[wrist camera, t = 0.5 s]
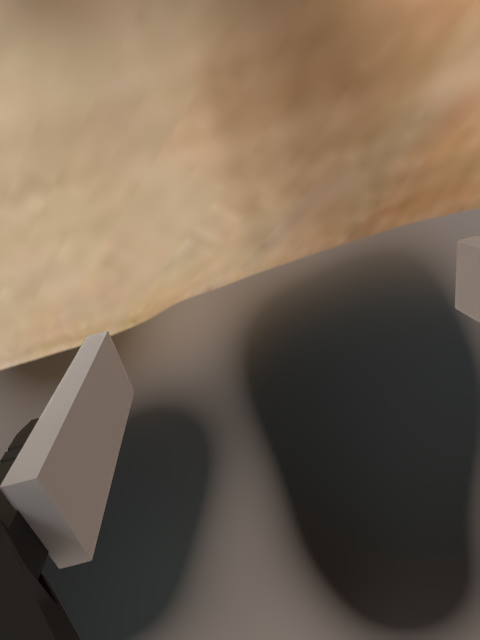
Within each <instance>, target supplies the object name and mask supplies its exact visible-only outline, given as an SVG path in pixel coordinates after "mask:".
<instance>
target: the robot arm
mask: <svg viewBox="0 0 480 640" xmlns="http://www.w3.org/2000/svg"><path fill="white" fill-rule="evenodd" d="M455 308H456V309H458V310H459V311H461V312H462V313H464V314H466V315H467V316H469V317H471V318H473V319H474V320H476V321H478V322H479V323H480V236H474V237H471V238H467V239H462V240H458V241H457V261H456V291H455ZM133 394H134V390H133V387H132V385H131V383H130V381H129V378H128V376H127V374H126V372H125V369H124V367H123V364H122V362H121V360H120V358H119V355H118V353H117V351H116V349H115V346H114V344H113V342H112V339H111V337H110V335H109V332H108V331H105V332H101V333H97V334H93V335H89V336H87V337H86V339H85V341H84V342H83V344H82V346H81V348H80V349H79V351H78V353H77V355H76V356H75V358H74V360H73V361H72V363H71V365H70V367H69V369H68V370H67V372H66V373H65V375H64V377H63V379H62V380H61V382H60V384H59V386H58V387H57V389H56V391H55V393H54V394H53V396H52V398H51V399H50V401H49V403H48V404H47V406H46V408H45V410H44V411H43V413H42V415H41V417H40V418H38V419H34V420H31V421H30V422H29V423H28V424H27V425H26V426H25V427H24V428H23V429H22V430H21V431H20V432H19V433H18V434H17V435H16V437H15V438H14V440H13V441H12V443H11V445H10V446H9V448H8V451H7V452H5V454H4V456H3V457H2V459H1V460H0V462H1V463H0V640H81V639H80V638H79V636H78V634H77V632H76V630H75V628H74V627H73V625H72V623H71V621H70V619H69V617H68V616H67V614H66V612H65V610H64V608H63V607H62V605H61V603H60V601H59V599H58V597H57V596H56V594H55V592H54V590H53V588H52V587H51V585H50V583H49V581H48V580H47V578H46V577H45V576H44V574H43V573H42V569H43V566H44V563H45V561H46V558H47V555H48V554H49V556H50V557H51V558H52V560H53V561H54V562H55V563H56V565H57V566H58V568H59V569H61V568H65V567H69V566H73V565H76V564H80V563H84V562H88V561H91V560H92V557H93V553H94V549H95V545H96V541H97V537H98V533H99V529H100V525H101V521H102V517H103V513H104V509H105V505H106V501H107V497H108V493H109V489H110V486H111V481H112V477H113V473H114V469H115V465H116V462H117V458H118V454H119V449H120V446H121V442H122V438H123V434H124V430H125V425H126V421H127V418H128V413H129V410H130V406H131V401H132V398H133Z"/></svg>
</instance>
